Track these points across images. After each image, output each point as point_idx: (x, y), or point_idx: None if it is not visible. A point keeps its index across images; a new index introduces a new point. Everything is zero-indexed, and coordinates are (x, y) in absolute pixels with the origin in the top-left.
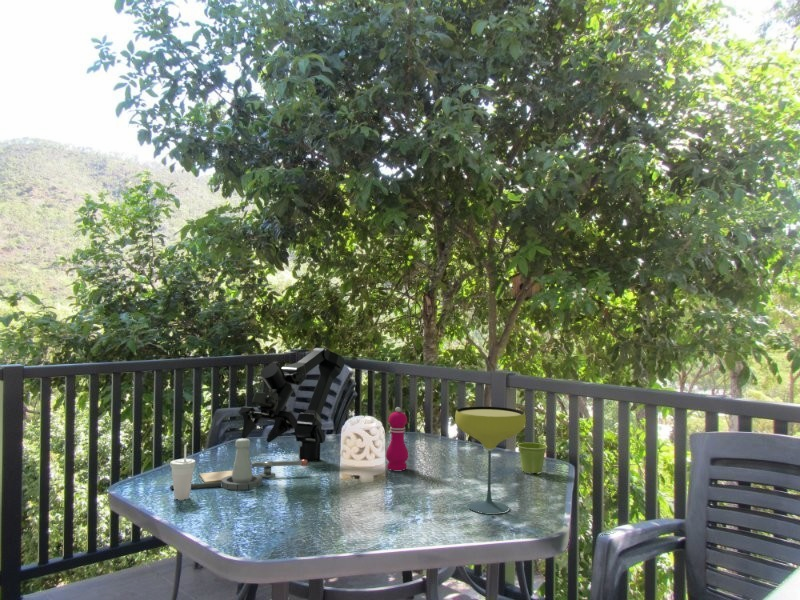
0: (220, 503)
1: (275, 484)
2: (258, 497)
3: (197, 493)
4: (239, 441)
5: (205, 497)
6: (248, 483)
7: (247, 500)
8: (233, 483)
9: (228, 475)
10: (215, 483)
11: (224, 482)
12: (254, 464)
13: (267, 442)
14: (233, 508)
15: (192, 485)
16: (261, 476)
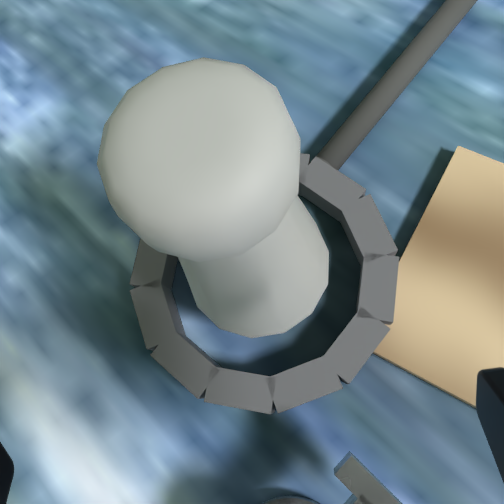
0: (102, 14)
1: (93, 412)
2: (16, 170)
3: (315, 28)
4: (172, 66)
5: (227, 18)
6: None
7: (31, 109)
8: None
9: (483, 339)
10: (337, 131)
11: None
12: (355, 494)
13: (10, 460)
14: (10, 12)
15: (414, 39)
16: (293, 497)
